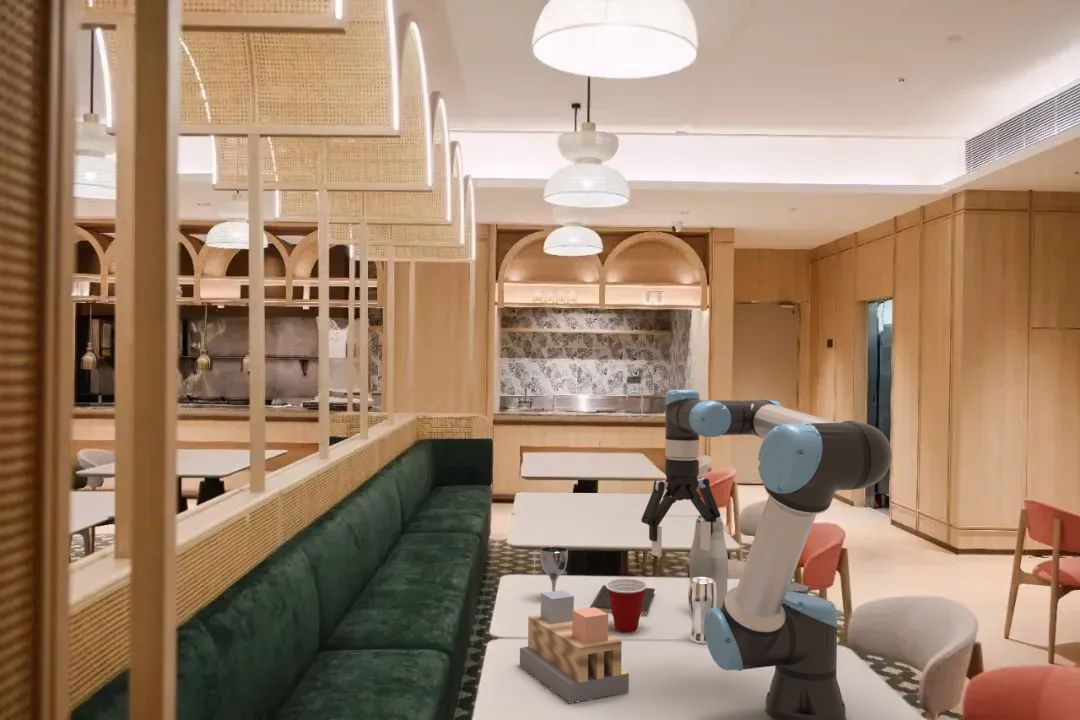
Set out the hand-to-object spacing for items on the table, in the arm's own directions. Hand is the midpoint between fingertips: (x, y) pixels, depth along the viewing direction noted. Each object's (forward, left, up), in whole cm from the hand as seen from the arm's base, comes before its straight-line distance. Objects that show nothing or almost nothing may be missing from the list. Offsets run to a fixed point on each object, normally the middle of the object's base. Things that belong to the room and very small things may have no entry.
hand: (681, 552), depth 193 cm
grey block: (+13, +24, -16) cm, 32 cm away
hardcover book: (+51, -17, -27) cm, 60 cm away
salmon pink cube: (-1, +24, -16) cm, 29 cm away
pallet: (+6, +24, -23) cm, 34 cm away
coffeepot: (0, -33, -27) cm, 42 cm away
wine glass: (+61, 0, -27) cm, 67 cm away
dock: (+6, +24, -27) cm, 37 cm away
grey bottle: (+32, -33, -27) cm, 53 cm away
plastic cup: (+30, -5, -27) cm, 40 cm away
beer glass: (+15, -18, -27) cm, 35 cm away
